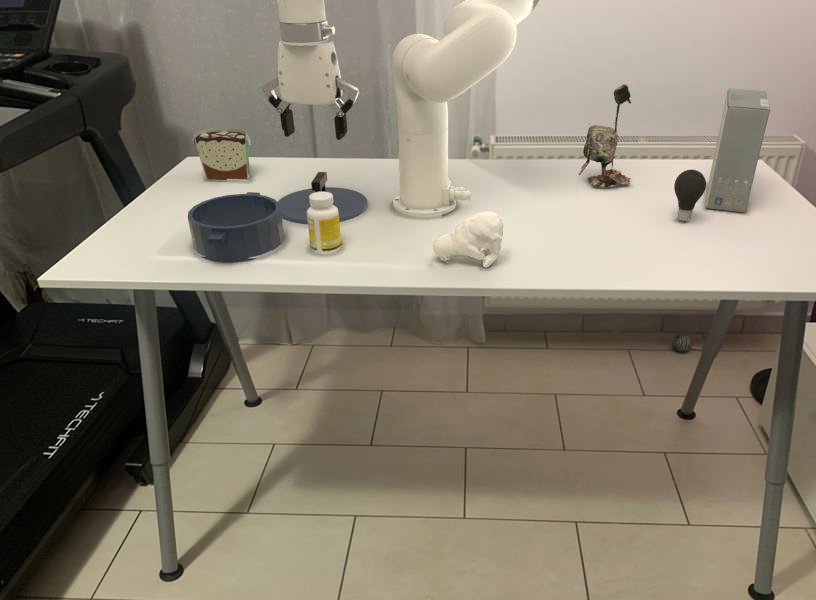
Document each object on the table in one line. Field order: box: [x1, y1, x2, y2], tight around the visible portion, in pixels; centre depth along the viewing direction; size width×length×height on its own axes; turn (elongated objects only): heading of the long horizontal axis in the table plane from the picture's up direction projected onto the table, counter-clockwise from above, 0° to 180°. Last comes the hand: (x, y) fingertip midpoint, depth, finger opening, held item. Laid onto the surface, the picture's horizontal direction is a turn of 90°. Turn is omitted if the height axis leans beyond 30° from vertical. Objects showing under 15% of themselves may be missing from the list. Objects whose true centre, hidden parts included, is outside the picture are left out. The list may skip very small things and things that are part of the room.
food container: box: [192, 127, 252, 182], centre depth 155 cm, size 12×6×10 cm, turn 84°
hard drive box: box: [705, 88, 771, 213], centre depth 141 cm, size 16×8×20 cm, turn 162°
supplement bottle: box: [307, 192, 342, 254], centre depth 124 cm, size 5×5×10 cm
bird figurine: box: [577, 83, 632, 188], centre depth 148 cm, size 8×11×20 cm
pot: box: [187, 191, 286, 263], centre depth 126 cm, size 16×21×6 cm
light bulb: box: [673, 169, 707, 223], centre depth 133 cm, size 6×6×10 cm
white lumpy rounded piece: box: [432, 211, 504, 269], centre depth 120 cm, size 6×8×12 cm
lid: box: [277, 171, 369, 225], centre depth 140 cm, size 18×18×6 cm
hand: (315, 136), depth 128 cm, fingers open, 9 cm apart
